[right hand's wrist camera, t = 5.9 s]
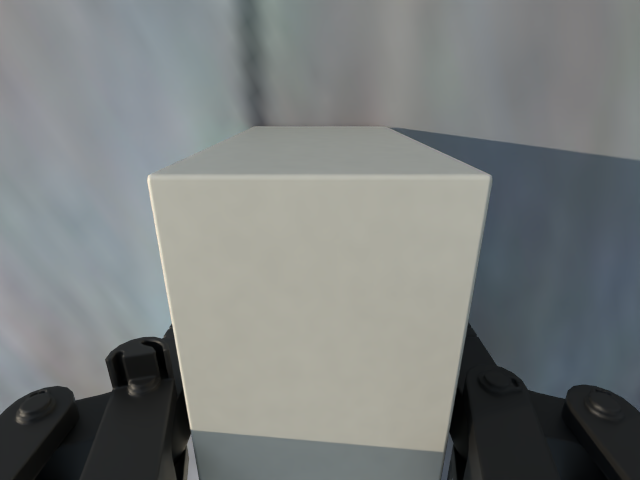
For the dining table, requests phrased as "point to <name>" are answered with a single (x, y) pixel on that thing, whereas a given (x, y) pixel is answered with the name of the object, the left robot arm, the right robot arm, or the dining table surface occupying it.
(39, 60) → the dining table surface
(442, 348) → the post
